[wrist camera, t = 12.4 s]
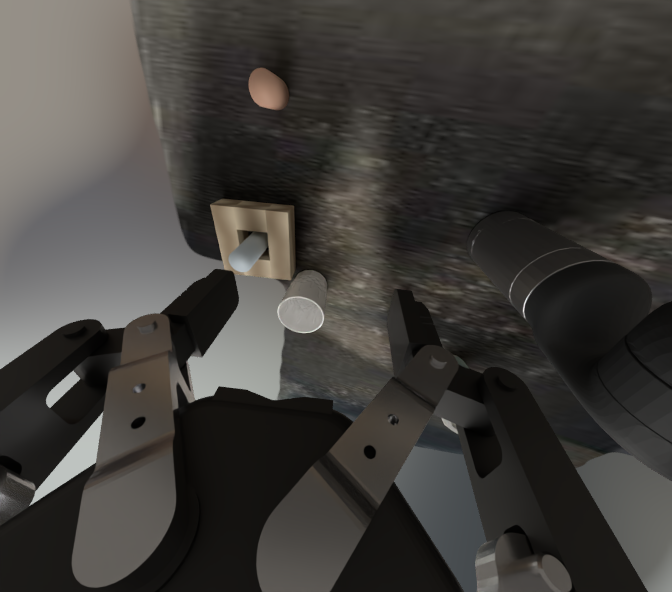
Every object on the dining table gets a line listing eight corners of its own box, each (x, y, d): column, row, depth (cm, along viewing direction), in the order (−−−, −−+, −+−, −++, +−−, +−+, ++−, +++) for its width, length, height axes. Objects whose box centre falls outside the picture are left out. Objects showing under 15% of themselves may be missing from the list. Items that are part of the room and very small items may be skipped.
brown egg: (288, 77, 30) (277, 69, 26) (289, 111, 32) (279, 108, 28) (262, 75, 30) (246, 66, 26) (264, 109, 32) (250, 106, 28)
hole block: (294, 205, 39) (288, 212, 36) (295, 269, 46) (290, 280, 43) (222, 198, 39) (210, 204, 36) (235, 263, 46) (225, 273, 43)
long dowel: (271, 228, 42) (250, 252, 33) (273, 246, 44) (253, 273, 35) (252, 226, 42) (226, 249, 33) (255, 244, 44) (230, 270, 35)
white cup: (327, 302, 50) (321, 336, 42) (290, 296, 50) (276, 328, 42) (332, 270, 45) (327, 301, 37) (292, 263, 45) (277, 292, 37)
